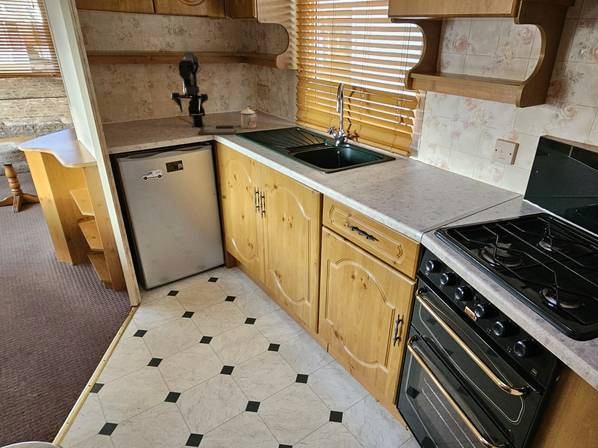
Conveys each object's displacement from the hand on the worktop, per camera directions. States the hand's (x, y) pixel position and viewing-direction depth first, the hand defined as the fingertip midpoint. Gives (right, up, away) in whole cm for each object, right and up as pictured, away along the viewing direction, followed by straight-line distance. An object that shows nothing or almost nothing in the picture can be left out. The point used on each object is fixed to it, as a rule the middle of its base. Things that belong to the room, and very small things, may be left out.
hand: (191, 112), depth 222 cm
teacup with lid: (+27, -1, +29) cm, 39 cm away
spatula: (+9, -4, +21) cm, 23 cm away
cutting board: (+11, -9, +11) cm, 18 cm away
